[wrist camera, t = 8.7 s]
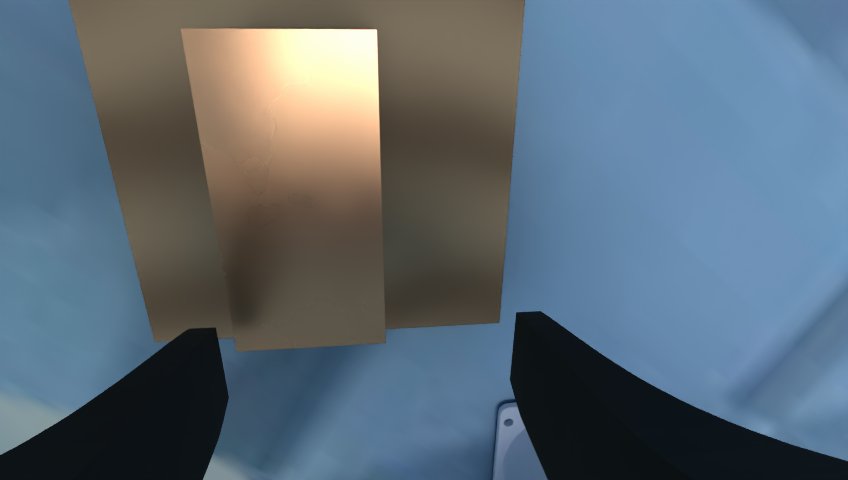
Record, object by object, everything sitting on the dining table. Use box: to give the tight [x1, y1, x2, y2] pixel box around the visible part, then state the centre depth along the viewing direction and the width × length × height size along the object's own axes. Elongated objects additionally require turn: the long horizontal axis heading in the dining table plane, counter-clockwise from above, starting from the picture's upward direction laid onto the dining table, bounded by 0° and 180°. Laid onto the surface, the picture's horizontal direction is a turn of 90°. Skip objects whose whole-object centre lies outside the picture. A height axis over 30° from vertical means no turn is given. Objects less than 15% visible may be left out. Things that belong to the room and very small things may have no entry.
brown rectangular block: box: [180, 27, 386, 352], centre depth 15 cm, size 8×4×6 cm, turn 179°
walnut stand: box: [69, 0, 525, 342], centre depth 19 cm, size 15×14×2 cm
